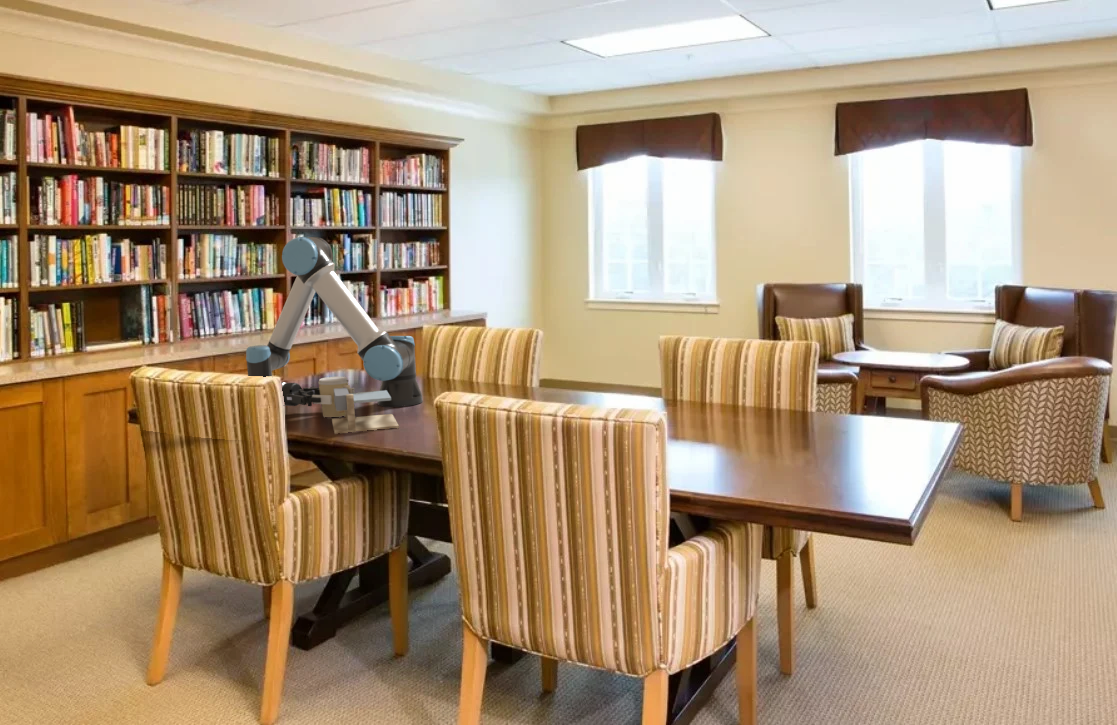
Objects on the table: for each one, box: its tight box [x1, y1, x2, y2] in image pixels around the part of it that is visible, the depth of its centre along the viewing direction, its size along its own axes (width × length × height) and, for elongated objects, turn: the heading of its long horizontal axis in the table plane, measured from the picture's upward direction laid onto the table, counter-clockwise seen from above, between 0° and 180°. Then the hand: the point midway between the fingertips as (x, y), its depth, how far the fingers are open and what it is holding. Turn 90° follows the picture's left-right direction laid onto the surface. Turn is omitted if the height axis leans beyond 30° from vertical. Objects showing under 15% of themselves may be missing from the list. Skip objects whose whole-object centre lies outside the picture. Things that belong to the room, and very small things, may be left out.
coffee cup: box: [317, 376, 349, 418], centre depth 292 cm, size 9×9×12 cm
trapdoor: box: [334, 388, 391, 411], centre depth 275 cm, size 16×14×4 cm
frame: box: [331, 384, 400, 435], centre depth 276 cm, size 18×19×11 cm
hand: (342, 396), depth 291 cm, fingers open, 13 cm apart
